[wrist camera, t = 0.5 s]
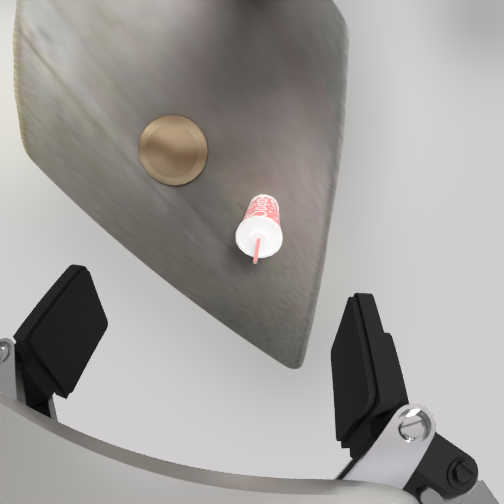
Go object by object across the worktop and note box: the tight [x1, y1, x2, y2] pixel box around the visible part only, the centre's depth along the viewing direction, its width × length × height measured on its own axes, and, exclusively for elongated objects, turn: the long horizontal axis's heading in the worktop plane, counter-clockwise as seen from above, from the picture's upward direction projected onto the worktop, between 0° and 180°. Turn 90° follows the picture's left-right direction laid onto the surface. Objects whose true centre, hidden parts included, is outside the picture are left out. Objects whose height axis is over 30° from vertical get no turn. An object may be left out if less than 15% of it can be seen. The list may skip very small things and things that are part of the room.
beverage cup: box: [236, 195, 282, 264], centre depth 40 cm, size 6×6×14 cm
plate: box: [139, 115, 208, 185], centre depth 41 cm, size 11×11×1 cm
